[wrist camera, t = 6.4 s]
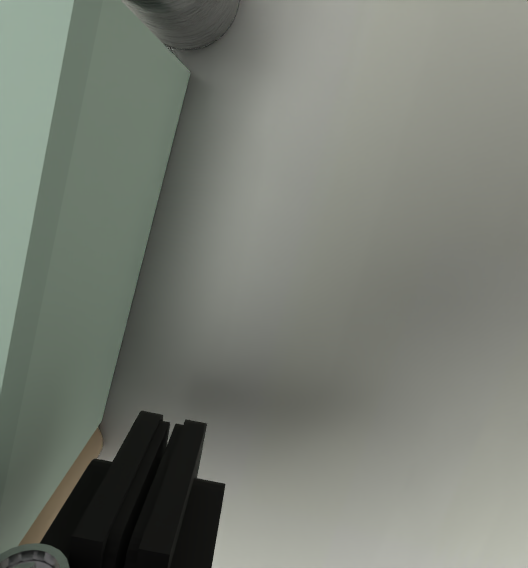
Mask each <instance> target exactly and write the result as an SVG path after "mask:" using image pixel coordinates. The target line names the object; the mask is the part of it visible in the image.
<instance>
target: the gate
mask: <svg viewBox="0 0 528 568" xmlns="http://www.w3.org/2000/svg"><path fill="white" fill-rule="evenodd" d="M190 73H191V72H190V71H189V70H188V69H187V68H186V67H185V66H184V65H183V64H182V63H181V62H180V61H179V60H178V58H177V57H176V56H175V55H174V54H173V53H172V52H171V51H170V50H169V49H168V48H167V47H166V46H165V45H164V44H163V43H162V42H161V41H160V40H159V39H158V38H157V37H156V36H155V35H154V34H153V33H152V32H151V31H150V30H149V29H148V28H147V27H146V26H145V25H144V24H143V23H142V22H141V21H140V20H139V19H138V18H137V16H136V15H135V14H134V13H133V12H132V11H131V10H130V9H129V8H128V7H127V6H126V5H125V4H124V3H123V2H122V1H121V0H0V554H1V553H3V552H5V551H7V550H9V549H11V548H14V547H17V546H20V545H24V544H34V543H40V542H41V540H42V538H43V537H44V535H45V534H46V532H47V530H48V529H49V527H50V526H51V524H52V522H53V521H54V519H55V518H56V516H57V514H58V513H59V511H60V510H61V508H62V506H63V505H64V503H65V502H66V500H67V498H68V497H69V495H70V494H71V492H72V490H73V489H74V487H75V486H76V484H77V482H78V481H79V479H80V478H81V476H82V474H83V473H84V471H85V470H86V468H87V466H88V465H89V463H90V462H91V461H92V460H93V459H97V457H98V456H99V454H100V452H101V450H102V447H103V438H102V434H101V432H100V430H99V428H98V426H99V424H100V423H101V421H102V418H103V414H104V410H105V406H106V402H107V398H108V394H109V390H110V386H111V382H112V378H113V374H114V371H115V367H116V363H117V359H118V355H119V351H120V347H121V343H122V339H123V335H124V331H125V327H126V324H127V320H128V316H129V312H130V308H131V304H132V300H133V296H134V292H135V288H136V284H137V281H138V277H139V273H140V269H141V265H142V261H143V257H144V253H145V249H146V245H147V241H148V237H149V234H150V230H151V226H152V222H153V218H154V214H155V210H156V206H157V202H158V198H159V194H160V190H161V187H162V183H163V179H164V175H165V171H166V167H167V163H168V159H169V155H170V151H171V147H172V143H173V140H174V136H175V132H176V128H177V124H178V120H179V116H180V112H181V108H182V104H183V100H184V96H185V93H186V89H187V85H188V81H189V77H190Z"/></svg>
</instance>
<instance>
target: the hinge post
mask: <svg viewBox="0 0 528 568" xmlns="http://www.w3.org/2000/svg"><path fill="white" fill-rule="evenodd" d="M121 1H122V2H123V3H124V4H125V5H126V6H127V7H128V8H129V9H130V10H131V11H132V12H133V13H134V14H135V15H136V16H137V18H138V19H139V20H140V21H141V22H142V23H143V24H144V25H145V26H146V27H147V28H148V29H149V30H150V31H151V32H152V33H153V34H154V35H155V36H156V37H157V38H158V39H159V40H160V41H161V42H162V43H164V44H166V45H168V46H171V47H174V48H178V49H185V50H186V49H197V48H201V47H204V46H207V45H209V44H211V43H213V42H214V41H216V40H217V39H218V38H220V37H221V36H222V35H223V34H224V33H225V32H226V30H227V29H228V28H229V26H230V25H231V23H232V22H233V20H234V18H235V16H236V13H237V10H238V6H239V2H240V0H121Z"/></svg>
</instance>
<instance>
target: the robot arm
mask: <svg viewBox="0 0 528 568" xmlns="http://www.w3.org/2000/svg"><path fill="white" fill-rule="evenodd" d="M206 426H207V423H201V422H196V421H191V420H185V422H184V425H181V424H175V427H174V429H173V432H172V434H171V437H170V439H169V442H168V444H167V440H168V434H169V428H170V422H165V421H163V415H161V414H156V413H151V412H145V411H141V412H140V413H139V415H138V417H137V419H136V420H135V422H134V424H133V426H132V428H131V430H130V431H129V433H128V435H127V437H126V439H125V440H124V442H123V444H122V446H121V448H120V449H119V451H118V453H117V455H116V457H115V458H114V460H113V462H110V461H105V460H99V459H93V460H92V461H91V462H90V463H89V465H88V466H87V468H86V470H85V471H84V473H83V474H82V476H81V478H80V479H79V481H78V482H77V484H76V486H75V487H74V489H73V490H72V492H71V494H70V495H69V497H68V498H67V500H66V502H65V503H64V505H63V506H62V508H61V510H60V511H59V513H58V514H57V516H56V518H55V519H54V521H53V522H52V524H51V526H50V527H49V529H48V530H47V532H46V534H45V535H44V537H43V538H42V540H41V542H40V543H34V544H24V545H20V546H17V547H14V548H11V549H9V550H7V551H5V552H3V553H1V554H0V568H211V567H212V561H213V555H214V549H215V543H216V537H217V531H218V525H219V519H220V514H221V508H222V502H223V496H224V490H225V484H223V483H218V482H213V481H208V480H203V479H197V474H198V469H199V463H200V458H201V453H202V448H203V442H204V437H205V432H206ZM166 446H167V447H166Z"/></svg>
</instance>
